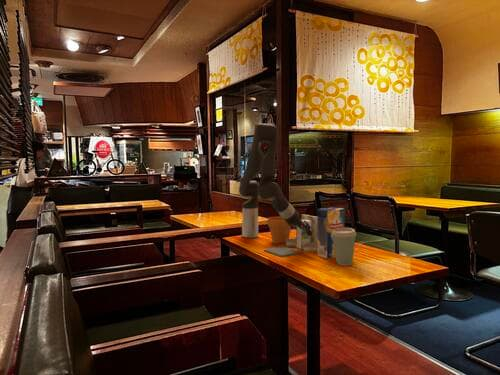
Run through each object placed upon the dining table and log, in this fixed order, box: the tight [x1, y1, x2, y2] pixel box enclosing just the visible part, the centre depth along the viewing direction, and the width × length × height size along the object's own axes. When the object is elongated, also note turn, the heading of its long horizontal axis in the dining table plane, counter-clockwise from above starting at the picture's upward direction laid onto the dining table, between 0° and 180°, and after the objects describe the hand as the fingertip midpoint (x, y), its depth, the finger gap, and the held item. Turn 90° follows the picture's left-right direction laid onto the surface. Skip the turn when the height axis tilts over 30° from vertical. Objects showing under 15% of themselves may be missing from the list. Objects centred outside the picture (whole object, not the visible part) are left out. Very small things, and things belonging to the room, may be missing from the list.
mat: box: [263, 245, 302, 258], centre depth 174 cm, size 14×12×1 cm
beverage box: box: [316, 206, 346, 259], centre depth 167 cm, size 7×11×22 cm, turn 122°
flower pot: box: [266, 216, 292, 244], centre depth 198 cm, size 14×14×13 cm
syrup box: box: [295, 219, 311, 250], centre depth 182 cm, size 6×6×14 cm
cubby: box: [285, 213, 318, 253], centre depth 182 cm, size 14×12×16 cm
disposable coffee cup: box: [331, 227, 357, 267], centre depth 153 cm, size 11×11×15 cm
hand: (305, 233), depth 183 cm, fingers closed on syrup box, 6 cm apart
